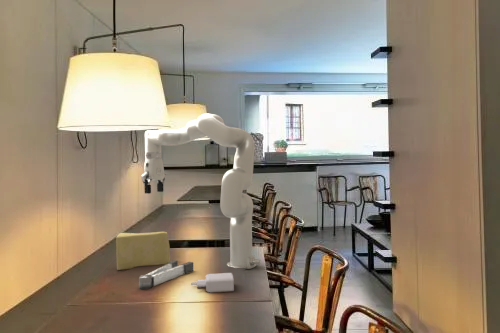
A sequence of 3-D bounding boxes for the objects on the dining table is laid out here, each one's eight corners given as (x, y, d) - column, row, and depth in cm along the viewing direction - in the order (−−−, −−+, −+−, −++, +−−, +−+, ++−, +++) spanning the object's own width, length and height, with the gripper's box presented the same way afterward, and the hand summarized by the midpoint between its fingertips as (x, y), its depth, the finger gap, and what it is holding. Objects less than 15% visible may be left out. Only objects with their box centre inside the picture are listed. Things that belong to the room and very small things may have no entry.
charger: (191, 286, 155) (231, 284, 157) (191, 294, 146) (234, 292, 148) (190, 274, 155) (231, 271, 157) (190, 281, 146) (233, 278, 148)
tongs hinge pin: (154, 286, 152) (154, 275, 152) (146, 290, 148) (146, 278, 148) (144, 285, 154) (144, 274, 154) (136, 288, 150) (136, 277, 150)
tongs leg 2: (155, 286, 152) (155, 276, 152) (150, 285, 153) (150, 275, 153) (193, 271, 171) (193, 262, 171) (189, 270, 172) (189, 261, 172)
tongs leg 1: (148, 285, 153) (148, 275, 153) (143, 284, 154) (143, 274, 154) (177, 269, 175) (177, 260, 175) (172, 268, 175) (172, 260, 175)
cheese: (170, 262, 190) (170, 229, 190) (169, 268, 181) (168, 233, 180) (120, 265, 188) (119, 231, 188) (116, 270, 178) (115, 235, 178)
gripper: (148, 156, 189) (149, 194, 190) (170, 156, 205) (171, 191, 206) (135, 156, 192) (136, 194, 193) (157, 156, 208) (158, 190, 209)
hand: (154, 192), depth 199 cm, fingers open, 9 cm apart
